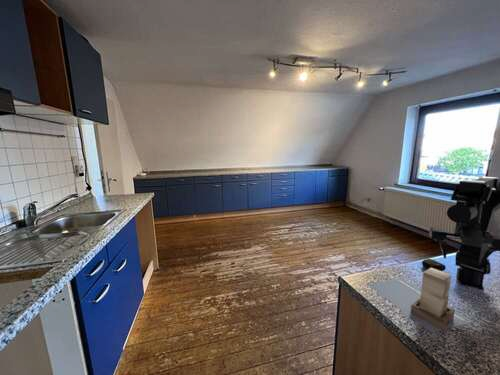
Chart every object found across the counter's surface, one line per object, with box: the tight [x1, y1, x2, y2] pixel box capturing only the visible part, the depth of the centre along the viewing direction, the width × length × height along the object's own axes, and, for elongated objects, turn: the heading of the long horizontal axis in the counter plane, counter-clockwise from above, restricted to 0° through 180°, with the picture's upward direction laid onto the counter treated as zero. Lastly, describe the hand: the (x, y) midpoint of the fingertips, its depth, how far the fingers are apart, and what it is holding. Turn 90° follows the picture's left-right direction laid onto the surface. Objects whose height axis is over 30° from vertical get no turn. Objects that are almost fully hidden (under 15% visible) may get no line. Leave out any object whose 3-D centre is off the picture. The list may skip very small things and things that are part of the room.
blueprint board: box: [367, 277, 475, 334], centre depth 75 cm, size 16×24×1 cm, turn 14°
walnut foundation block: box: [411, 299, 455, 331], centre depth 68 cm, size 8×8×3 cm
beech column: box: [419, 268, 452, 317], centre depth 67 cm, size 5×5×12 cm
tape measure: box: [421, 258, 446, 272], centre depth 96 cm, size 7×7×4 cm
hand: (462, 261), depth 77 cm, fingers open, 9 cm apart
